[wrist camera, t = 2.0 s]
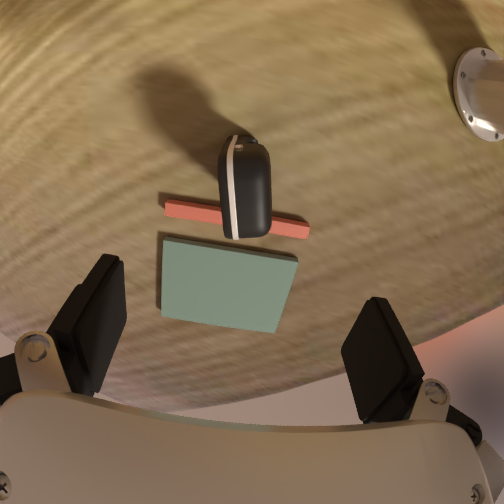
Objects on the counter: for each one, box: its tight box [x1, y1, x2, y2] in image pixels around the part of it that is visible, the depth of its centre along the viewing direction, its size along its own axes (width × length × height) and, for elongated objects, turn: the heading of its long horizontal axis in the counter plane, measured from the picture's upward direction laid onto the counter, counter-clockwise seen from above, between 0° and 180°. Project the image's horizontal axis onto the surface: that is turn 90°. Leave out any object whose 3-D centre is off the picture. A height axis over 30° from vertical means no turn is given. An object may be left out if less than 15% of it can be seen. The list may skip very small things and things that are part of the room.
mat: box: [161, 236, 299, 333], centre depth 38 cm, size 16×12×1 cm
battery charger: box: [218, 135, 272, 240], centre depth 26 cm, size 7×4×11 cm, turn 3°
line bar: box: [165, 199, 310, 239], centre depth 33 cm, size 16×2×1 cm, turn 79°
